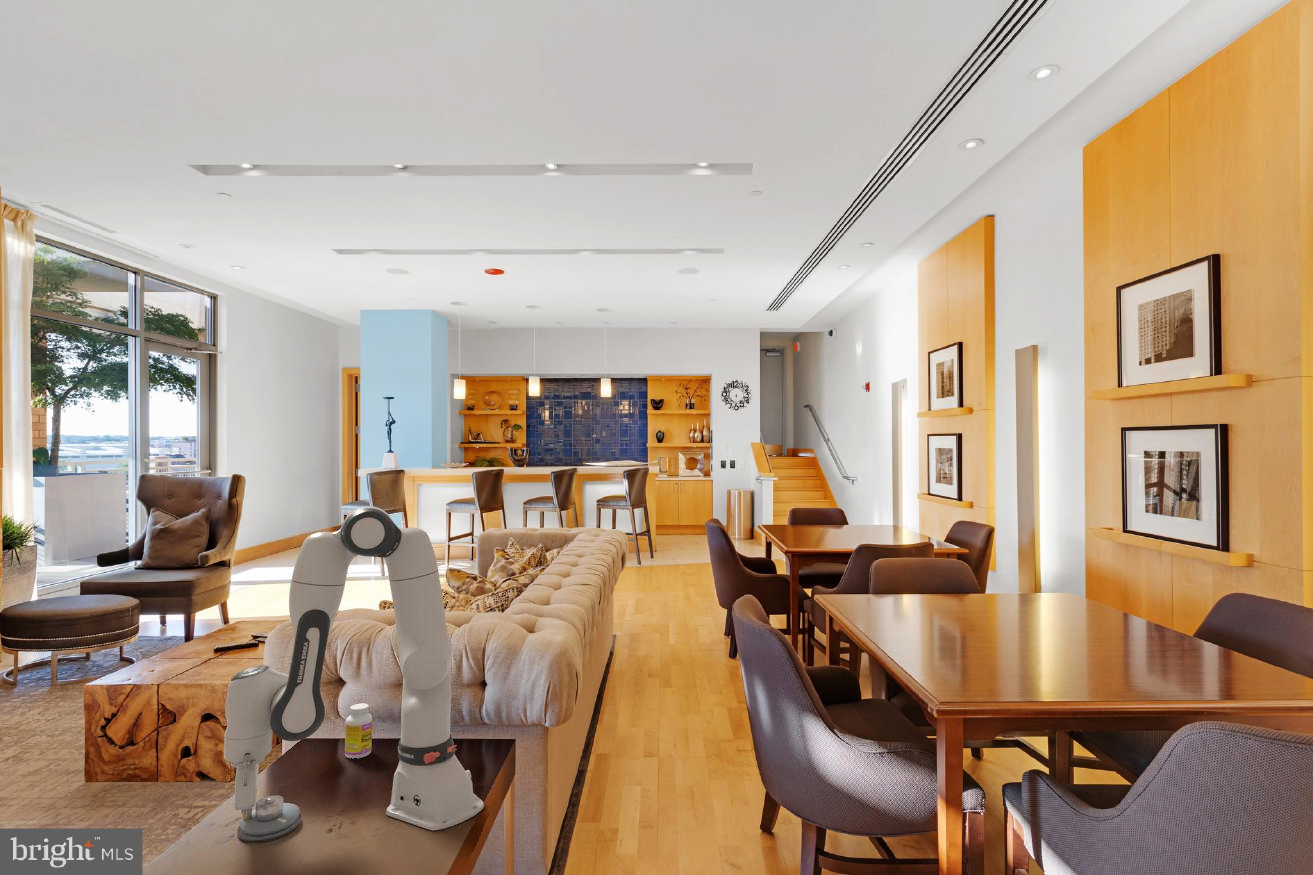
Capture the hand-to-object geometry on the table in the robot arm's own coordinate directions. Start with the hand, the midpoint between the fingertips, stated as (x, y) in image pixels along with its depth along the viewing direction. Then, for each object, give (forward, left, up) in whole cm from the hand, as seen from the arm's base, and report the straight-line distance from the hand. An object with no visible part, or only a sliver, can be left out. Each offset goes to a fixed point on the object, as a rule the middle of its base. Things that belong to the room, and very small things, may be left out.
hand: (246, 811), depth 146 cm
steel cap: (-1, -4, -2) cm, 5 cm away
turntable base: (-1, -4, -5) cm, 6 cm away
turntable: (-1, -4, -3) cm, 6 cm away
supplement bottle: (+20, -35, -5) cm, 41 cm away
